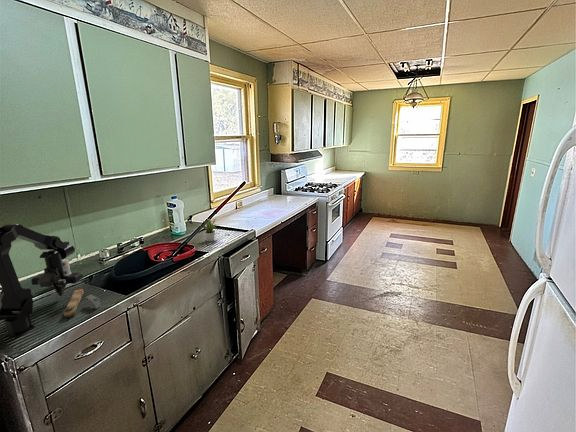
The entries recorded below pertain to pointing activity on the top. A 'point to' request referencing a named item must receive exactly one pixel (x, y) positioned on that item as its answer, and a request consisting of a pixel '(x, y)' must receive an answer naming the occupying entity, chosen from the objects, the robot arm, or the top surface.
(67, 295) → the top surface
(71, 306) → the brown long rod
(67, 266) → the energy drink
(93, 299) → the keeper
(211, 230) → the house plant
